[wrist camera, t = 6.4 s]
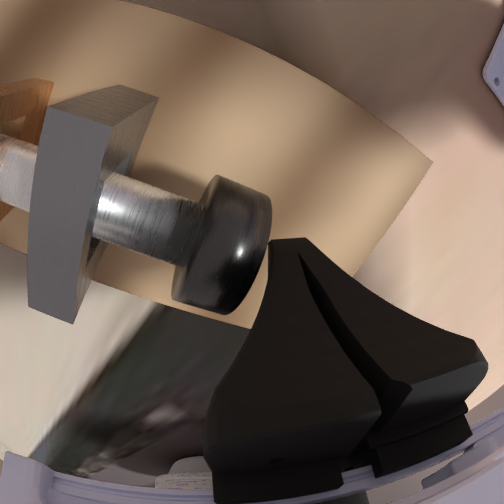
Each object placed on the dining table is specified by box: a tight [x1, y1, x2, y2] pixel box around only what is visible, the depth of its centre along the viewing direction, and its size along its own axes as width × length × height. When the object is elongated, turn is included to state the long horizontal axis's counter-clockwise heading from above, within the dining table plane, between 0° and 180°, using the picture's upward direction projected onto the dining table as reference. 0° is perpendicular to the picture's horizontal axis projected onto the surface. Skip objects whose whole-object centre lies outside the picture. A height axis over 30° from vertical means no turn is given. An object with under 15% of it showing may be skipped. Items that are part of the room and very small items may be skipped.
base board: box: [0, 0, 433, 329], centre depth 11 cm, size 22×12×2 cm, turn 63°
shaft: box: [0, 133, 272, 315], centre depth 7 cm, size 16×4×4 cm, turn 63°
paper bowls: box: [155, 456, 213, 490], centre depth 31 cm, size 15×15×8 cm
